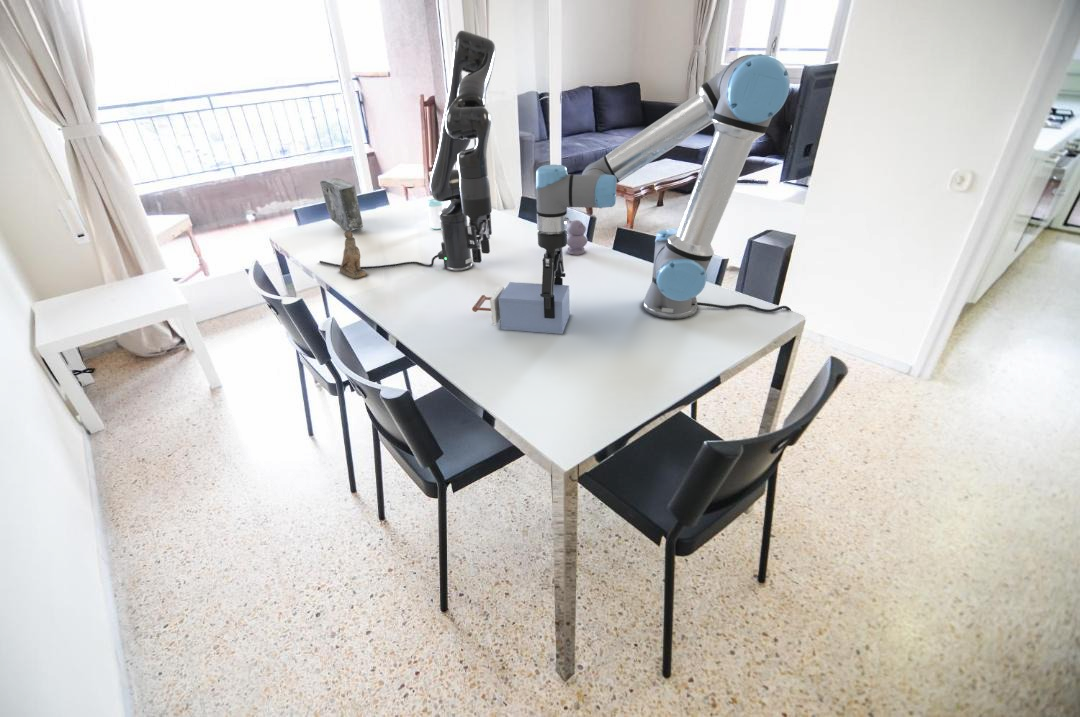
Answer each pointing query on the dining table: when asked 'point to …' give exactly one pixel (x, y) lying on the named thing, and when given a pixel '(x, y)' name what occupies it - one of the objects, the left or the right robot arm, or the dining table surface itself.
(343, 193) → the concrete block
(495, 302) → the drawer
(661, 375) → the dining table surface
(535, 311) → the cabinet
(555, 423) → the dining table surface
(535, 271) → the dining table surface
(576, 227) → the lavender rounded piece
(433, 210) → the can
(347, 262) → the worn brown figurine
